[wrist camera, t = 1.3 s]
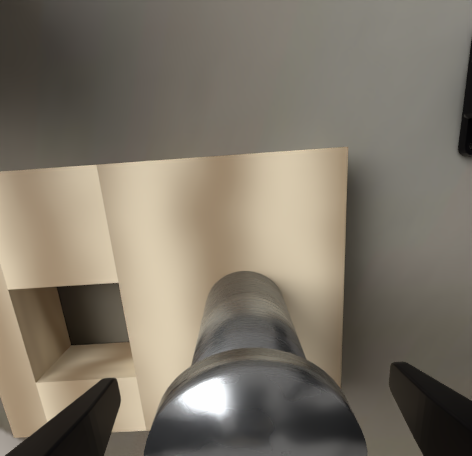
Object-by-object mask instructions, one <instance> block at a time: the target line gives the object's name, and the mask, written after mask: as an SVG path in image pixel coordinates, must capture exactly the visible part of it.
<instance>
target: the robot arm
mask: <svg viewBox="0 0 472 456" xmlns="http://www.w3.org/2000/svg"><path fill="white" fill-rule="evenodd" d="M470 143H472V41H471V49H470V57H469V65H468V73H467V81H466V89H465V97H464V105H463V113H462V121H461V129H460V137H459V145H458V150H459V153H460V154H461V155H463V156H472V148H471V149H470ZM389 387H390V390H391V392H392V395H393V397H394V399H395V401H396V403H397V405H398V407H399V409H400V411H401V413H402V415H403V417H404V419H405V421H406V423H407V425H408V427H409V429H410V431H411V433H412V435H413V437H414V439H415V441H416V442H417V444H418V446H419V448H420V450H421V452H422V453H423V455H424V456H472V401H471V400H469V399H468V398H466V397H464V396H462V395H461V394H459V393H457V392H456V391H454V390H452V389H451V388H449V387H447V386H446V385H444V384H442V383H440V382H439V381H437V380H435V379H434V378H432V377H430V376H429V375H427V374H425V373H424V372H422V371H420V370H418V369H417V368H415V367H413V366H412V365H410V364H408V363H406V362H393V363H392V364H391V366H390V377H389ZM120 404H121V395H120V390H119V386H118V381H117V379H116V378H103V379H101V380H100V381H99V382H98V383H96V384H95V385H94V386H92V387H91V388H90V389H89V390H87V391H86V392H85V393H84V394H82V395H81V396H80V397H79V398H77V399H76V400H75V401H74V402H72V403H71V404H70V405H68V406H67V407H66V408H65V409H63V410H62V411H61V412H60V413H58V414H57V415H56V416H55V417H53V418H52V419H51V420H49V421H48V422H47V423H46V424H44V425H43V426H42V427H41V428H39V429H38V430H37V431H36V432H34V433H33V434H32V435H31V436H29V437H28V438H27V439H25V440H24V441H23V442H22V443H20V444H19V445H18V446H17V447H15V448H14V449H13V450H12V451H10V452H9V453H8V454H6V455H5V456H104V453H105V450H106V447H107V444H108V441H109V438H110V435H111V432H112V429H113V426H114V423H115V420H116V417H117V414H118V411H119V408H120Z"/></svg>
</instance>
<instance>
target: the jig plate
mask: <svg viewBox="0 0 472 456" xmlns="http://www.w3.org/2000/svg"><path fill="white" fill-rule="evenodd" d="M347 168H348V147H338V148H324V149H310V150H296V151H282V152H268V153H254V154H240V155H226V156H212V157H198V158H184V159H170V160H156V161H142V162H128V163H114V164H100V165H86V166H72V167H58V168H44V169H30V170H16V171H2V172H0V397H1V400H2V403H3V406H4V409H5V412H6V415H7V417H8V420H9V423H10V426H11V429H12V432H13V435H14V438H16V437H29V436H31V435H32V434H33V433H34V432H36V431H37V430H38V429H39V428H41V427H42V426H43V425H44V424H46V423H47V422H48V421H49V420H51V419H52V418H53V417H55V416H56V415H57V414H58V413H60V412H61V411H62V410H63V409H65V408H66V407H67V406H68V405H70V404H71V403H72V402H74V401H75V400H76V399H77V398H79V397H80V396H81V395H82V394H84V393H85V392H86V391H87V390H89V389H90V388H91V387H92V386H94V385H95V384H96V383H98V382H99V381H100V380H101V379H103V378H116V379H117V381H118V386H119V390H120V395H121V404H120V408H119V411H118V414H117V417H116V420H115V423H114V426H113V429H112V432H127V431H146V430H150V429H151V426H152V423H153V420H154V417H155V414H156V411H157V408H158V406H159V403H160V401H161V398H162V396H163V395H164V393H165V392H166V390H167V388H168V387H169V386H170V385H171V383H172V382H173V381H174V380H175V379H176V378H177V377H178V376H179V375H180V374H181V373H182V372H183V371H185V370H186V369H187V368H189V367H190V366H191V364H192V360H193V355H194V351H195V347H196V343H197V338H198V334H199V330H200V325H201V321H202V317H203V313H204V308H205V304H206V300H207V296H208V294H209V291H210V290H211V288H212V287H213V285H214V284H215V283H216V282H217V281H218V280H220V279H221V278H222V277H224V276H226V275H228V274H231V273H234V272H238V271H253V272H257V273H260V274H263V275H265V276H266V277H268V278H269V279H271V280H272V281H273V282H274V283H275V284H276V285H277V286H278V288H279V289H280V291H281V293H282V296H283V298H284V301H285V304H286V306H287V309H288V312H289V314H290V317H291V320H292V322H293V325H294V328H295V330H296V333H297V336H298V338H299V341H300V344H301V346H302V349H303V352H304V354H305V357H306V360H308V361H310V362H312V363H314V364H315V365H317V366H318V367H320V368H321V369H323V370H324V371H325V372H326V373H327V374H328V375H329V376H330V377H332V378H333V380H334V381H335V382H336V383H337V385H338V386H339V387H340V389H341V364H342V332H343V299H344V266H345V233H346V201H347ZM105 283H119V288H120V293H121V299H122V304H123V309H124V315H125V320H126V325H127V331H128V336H129V341H130V342H121V343H105V344H88V345H71V343H70V339H69V335H68V331H67V327H66V323H65V319H64V315H63V311H62V307H61V303H60V299H59V295H58V291H57V286H73V285H89V284H105Z"/></svg>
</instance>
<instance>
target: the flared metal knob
mask: <svg viewBox="0 0 472 456" xmlns="http://www.w3.org/2000/svg"><path fill="white" fill-rule="evenodd" d="M144 456H367V447H366V442H365V438H364V436H363V433H362V430H361V428H360V426H359V424H358V422H357V420H356V418H355V416H354V414H353V412H352V410H351V408H350V405H349V403H348V401H347V399H346V397H345V395H344V394H343V392H342V390H341V389H340V387H339V386H338V385H337V383H336V382H335V381H334V380H333V378H332V377H330V376H329V375H328V374H327V373H326V372H325V371H324V370H323V369H321V368H320V367H318V366H317V365H315V364H314V363H312V362H310V361H308V360H306V357H305V354H304V352H303V349H302V346H301V344H300V341H299V338H298V336H297V333H296V330H295V328H294V325H293V322H292V320H291V317H290V314H289V312H288V309H287V306H286V304H285V301H284V298H283V296H282V293H281V291H280V289H279V288H278V286H277V285H276V284H275V283H274V282H273V281H272V280H271V279H269V278H268V277H266V276H265V275H263V274H260V273H257V272H253V271H238V272H234V273H231V274H228V275H226V276H224V277H222V278H221V279H220V280H218V281H217V282H216V283H215V284H214V285H213V287H212V288H211V290H210V291H209V294H208V296H207V300H206V304H205V308H204V313H203V317H202V321H201V325H200V330H199V334H198V338H197V343H196V347H195V351H194V355H193V360H192V364H191V366H190V367H189V368H187V369H186V370H185V371H183V372H182V373H181V374H180V375H179V376H178V377H177V378H176V379H175V380H174V381H173V382H172V383H171V385H170V386H169V387H168V388H167V390H166V392H165V393H164V395H163V396H162V398H161V401H160V403H159V406H158V408H157V411H156V414H155V417H154V420H153V423H152V426H151V429H150V432H149V435H148V438H147V441H146V446H145V450H144Z"/></svg>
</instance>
